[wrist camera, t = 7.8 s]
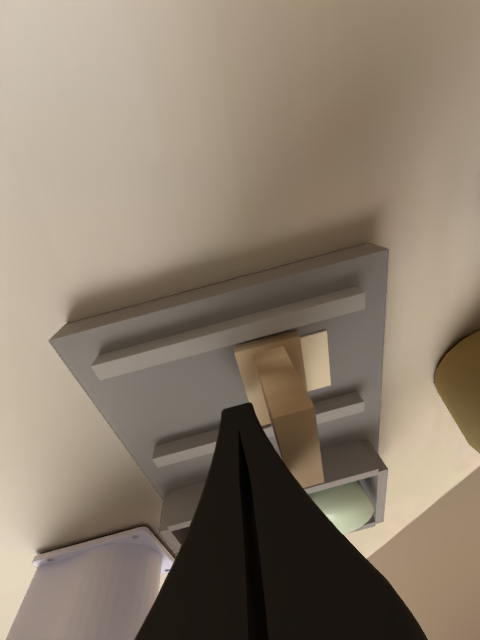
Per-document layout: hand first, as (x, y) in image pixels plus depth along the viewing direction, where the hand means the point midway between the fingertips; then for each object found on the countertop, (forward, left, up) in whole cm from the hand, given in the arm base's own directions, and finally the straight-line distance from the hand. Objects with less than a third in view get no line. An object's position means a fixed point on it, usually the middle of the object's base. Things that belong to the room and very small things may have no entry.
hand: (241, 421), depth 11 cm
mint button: (+4, -11, -2) cm, 12 cm away
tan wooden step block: (+2, 0, -2) cm, 3 cm away
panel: (0, -6, -4) cm, 7 cm away
